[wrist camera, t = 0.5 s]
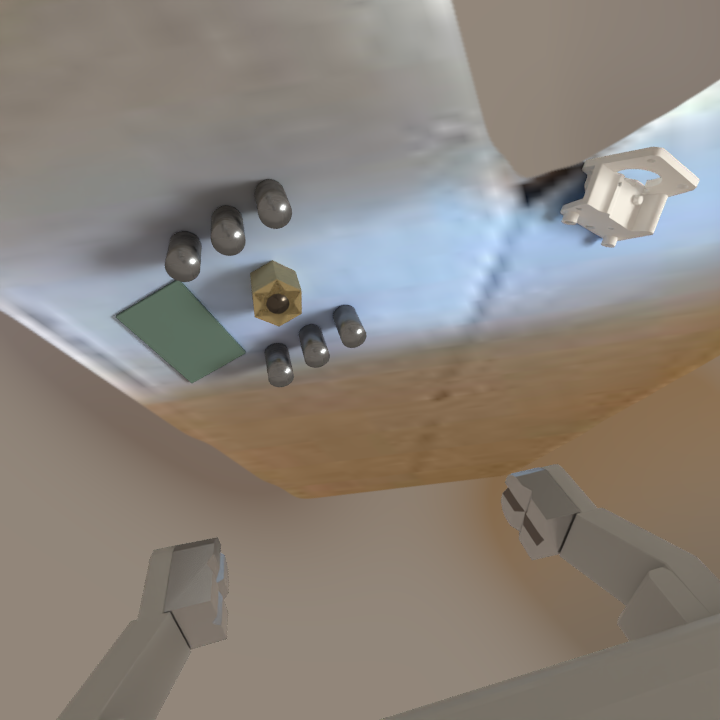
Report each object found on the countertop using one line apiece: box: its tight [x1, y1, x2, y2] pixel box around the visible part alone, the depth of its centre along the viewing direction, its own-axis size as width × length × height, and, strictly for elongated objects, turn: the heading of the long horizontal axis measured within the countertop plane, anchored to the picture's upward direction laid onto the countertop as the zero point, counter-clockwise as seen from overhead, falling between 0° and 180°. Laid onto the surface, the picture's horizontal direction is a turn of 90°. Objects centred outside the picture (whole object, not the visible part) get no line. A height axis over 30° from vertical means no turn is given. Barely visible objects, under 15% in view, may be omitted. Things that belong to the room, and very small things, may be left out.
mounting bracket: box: [561, 147, 700, 247], centre depth 48 cm, size 12×6×11 cm, turn 63°
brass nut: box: [250, 260, 302, 326], centre depth 45 cm, size 5×6×5 cm
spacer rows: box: [165, 179, 366, 387], centre depth 45 cm, size 20×13×5 cm, turn 26°
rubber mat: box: [116, 280, 246, 383], centre depth 48 cm, size 12×8×1 cm, turn 26°
